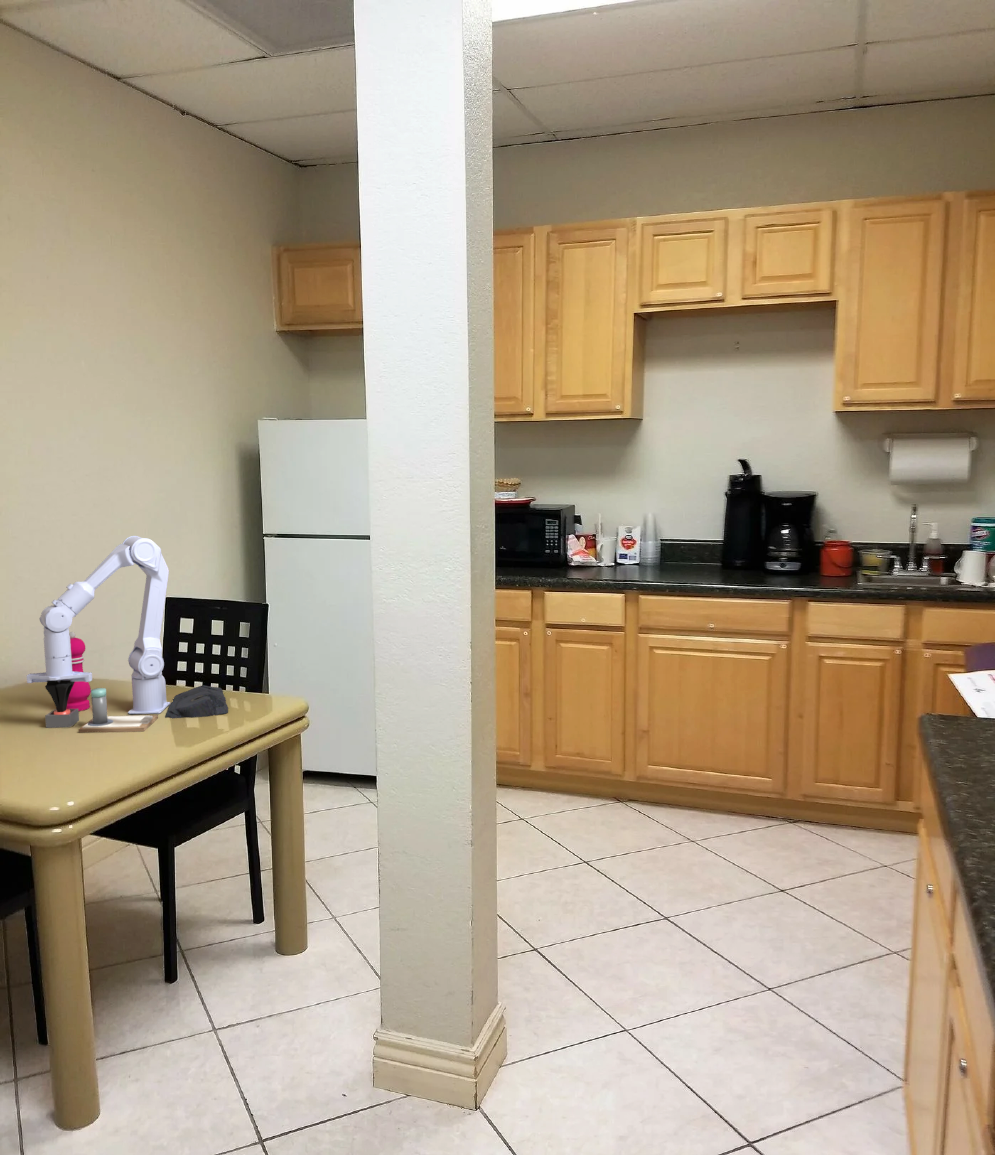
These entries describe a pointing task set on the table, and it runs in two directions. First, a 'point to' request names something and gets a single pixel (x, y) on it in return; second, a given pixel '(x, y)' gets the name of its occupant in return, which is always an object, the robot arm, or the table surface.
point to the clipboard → (120, 724)
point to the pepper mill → (80, 688)
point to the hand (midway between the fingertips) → (61, 711)
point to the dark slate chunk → (198, 703)
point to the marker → (99, 706)
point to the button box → (62, 719)
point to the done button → (62, 712)
